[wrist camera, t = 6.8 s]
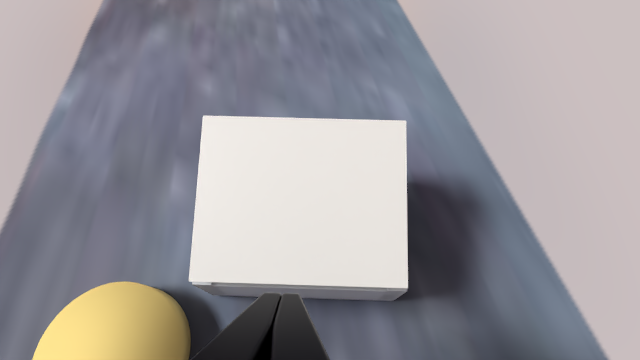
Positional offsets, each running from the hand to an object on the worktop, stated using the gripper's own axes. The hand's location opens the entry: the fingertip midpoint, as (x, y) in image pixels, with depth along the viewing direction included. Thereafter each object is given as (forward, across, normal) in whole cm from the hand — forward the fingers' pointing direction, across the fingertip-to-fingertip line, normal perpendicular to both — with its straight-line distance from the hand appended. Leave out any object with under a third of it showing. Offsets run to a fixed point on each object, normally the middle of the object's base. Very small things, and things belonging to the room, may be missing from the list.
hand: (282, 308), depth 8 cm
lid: (+6, 0, 0) cm, 7 cm away
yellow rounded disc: (+6, +8, +7) cm, 12 cm away
